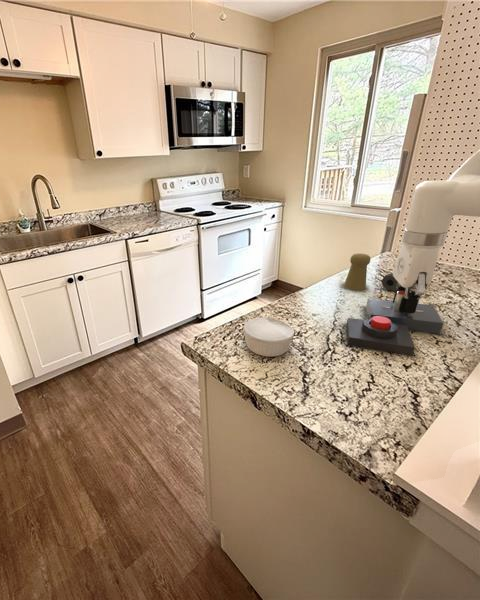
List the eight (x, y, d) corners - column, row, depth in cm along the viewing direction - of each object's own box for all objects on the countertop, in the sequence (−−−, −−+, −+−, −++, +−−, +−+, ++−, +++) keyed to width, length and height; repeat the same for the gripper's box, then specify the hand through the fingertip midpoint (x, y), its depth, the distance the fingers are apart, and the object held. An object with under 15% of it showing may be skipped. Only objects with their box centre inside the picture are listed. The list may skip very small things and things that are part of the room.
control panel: (429, 315, 81) (433, 304, 80) (439, 334, 74) (444, 322, 72) (365, 307, 88) (367, 297, 87) (368, 324, 80) (371, 313, 79)
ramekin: (299, 343, 75) (301, 325, 73) (279, 366, 69) (282, 346, 66) (255, 330, 83) (257, 312, 81) (234, 349, 76) (235, 330, 74)
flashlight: (397, 293, 94) (401, 277, 91) (377, 288, 98) (381, 272, 96) (425, 280, 99) (430, 265, 97) (405, 276, 104) (410, 261, 102)
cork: (342, 282, 104) (348, 251, 99) (363, 283, 102) (370, 251, 97) (345, 290, 99) (351, 257, 94) (367, 291, 97) (375, 257, 92)
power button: (388, 323, 73) (389, 317, 73) (390, 331, 70) (392, 324, 70) (369, 321, 75) (371, 314, 74) (371, 328, 72) (372, 322, 71)
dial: (409, 306, 80) (414, 289, 78) (415, 313, 77) (420, 296, 75) (390, 305, 82) (395, 288, 80) (395, 312, 78) (400, 295, 76)
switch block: (404, 333, 75) (408, 318, 74) (412, 355, 68) (417, 340, 66) (346, 324, 81) (349, 311, 79) (347, 345, 73) (350, 330, 71)
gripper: (392, 229, 80) (377, 293, 88) (416, 247, 66) (395, 322, 74) (429, 229, 77) (410, 295, 85) (462, 248, 63) (435, 325, 71)
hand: (403, 307), depth 79 cm, fingers closed on dial, 4 cm apart
